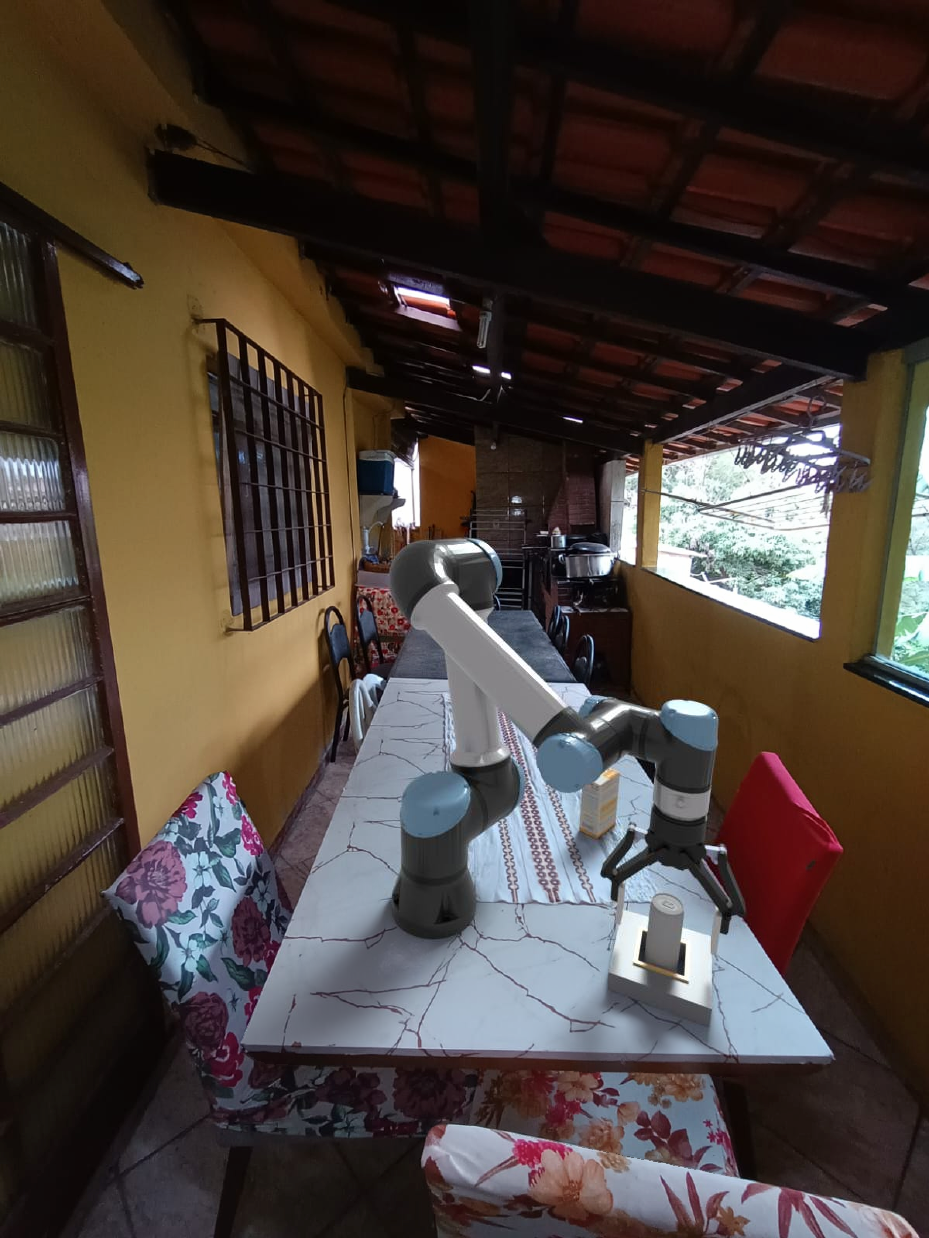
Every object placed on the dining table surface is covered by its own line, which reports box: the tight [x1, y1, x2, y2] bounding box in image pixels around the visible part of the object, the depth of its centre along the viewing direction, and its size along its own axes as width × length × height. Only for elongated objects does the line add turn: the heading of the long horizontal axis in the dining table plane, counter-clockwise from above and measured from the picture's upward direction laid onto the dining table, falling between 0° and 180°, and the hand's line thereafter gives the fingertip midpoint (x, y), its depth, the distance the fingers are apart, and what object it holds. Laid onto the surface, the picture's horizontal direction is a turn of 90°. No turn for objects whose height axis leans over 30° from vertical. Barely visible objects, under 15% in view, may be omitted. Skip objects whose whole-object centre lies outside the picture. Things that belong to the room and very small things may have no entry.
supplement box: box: [578, 767, 621, 839], centre depth 119 cm, size 8×5×13 cm, turn 134°
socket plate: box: [606, 908, 713, 1028], centre depth 83 cm, size 14×14×3 cm
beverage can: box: [643, 892, 685, 974], centre depth 82 cm, size 5×5×12 cm
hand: (664, 932), depth 82 cm, fingers open, 13 cm apart
